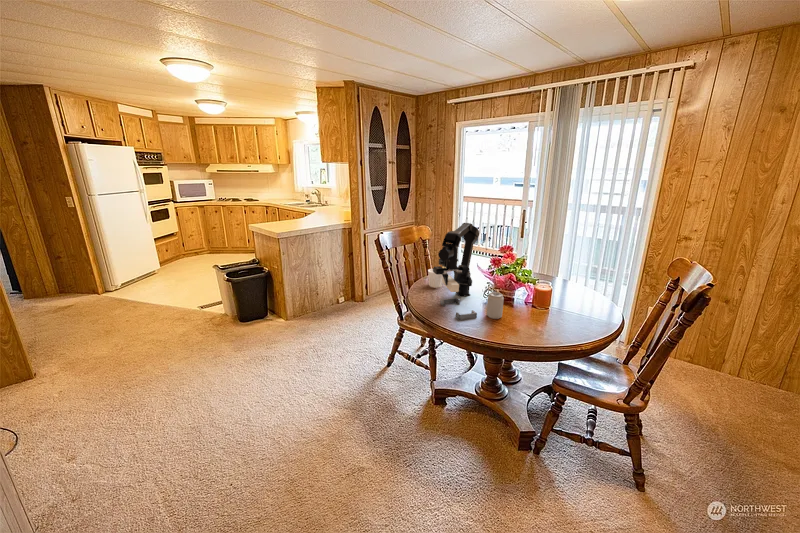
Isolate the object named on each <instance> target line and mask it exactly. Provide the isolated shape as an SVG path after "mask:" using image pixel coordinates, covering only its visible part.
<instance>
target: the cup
mask: <svg viewBox="0 0 800 533" xmlns="http://www.w3.org/2000/svg"><path fill="white" fill-rule="evenodd" d="M427 274H428V275H427V276H428V286H429V287H430V288H435V289H436V288H437V289H438V288H439V289H440V288H441V287H443V285H444V284H443V283H442V280H443V276H442V274H435V273H434V272H433V268H429V269H427Z"/></svg>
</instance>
